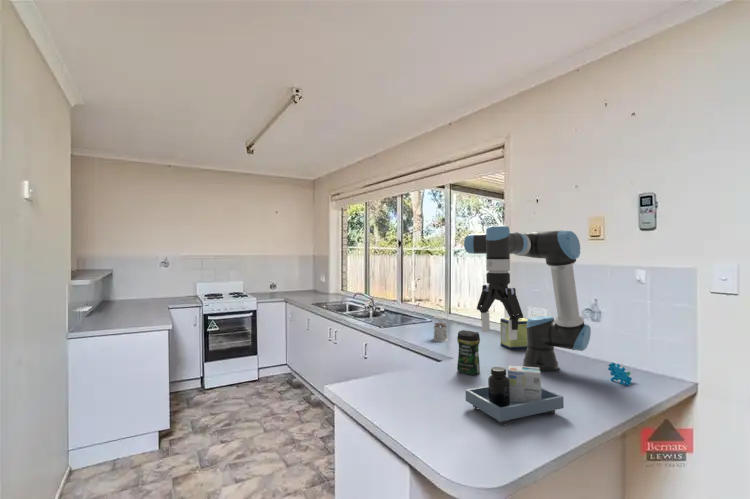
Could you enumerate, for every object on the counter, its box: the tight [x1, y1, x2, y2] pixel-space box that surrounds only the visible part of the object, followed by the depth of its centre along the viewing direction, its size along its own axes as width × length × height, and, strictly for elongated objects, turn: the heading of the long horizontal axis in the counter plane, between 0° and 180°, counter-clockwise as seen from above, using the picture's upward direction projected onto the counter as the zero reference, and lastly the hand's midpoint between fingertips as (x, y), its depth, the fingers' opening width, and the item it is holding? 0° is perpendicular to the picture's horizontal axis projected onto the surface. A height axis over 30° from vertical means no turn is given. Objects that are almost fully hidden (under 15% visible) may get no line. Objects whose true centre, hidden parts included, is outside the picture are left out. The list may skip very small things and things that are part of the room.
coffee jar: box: [456, 329, 481, 376], centre depth 174 cm, size 10×8×19 cm
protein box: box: [499, 316, 529, 351], centre depth 218 cm, size 10×16×16 cm
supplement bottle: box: [487, 366, 510, 408], centre depth 130 cm, size 7×7×12 cm
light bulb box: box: [507, 364, 542, 403], centre depth 134 cm, size 11×7×11 cm, turn 71°
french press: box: [432, 298, 449, 343], centre depth 238 cm, size 10×12×25 cm
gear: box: [607, 362, 633, 387], centre depth 160 cm, size 11×6×10 cm
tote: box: [465, 385, 564, 426], centre depth 132 cm, size 18×26×6 cm
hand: (498, 335), depth 130 cm, fingers open, 13 cm apart
